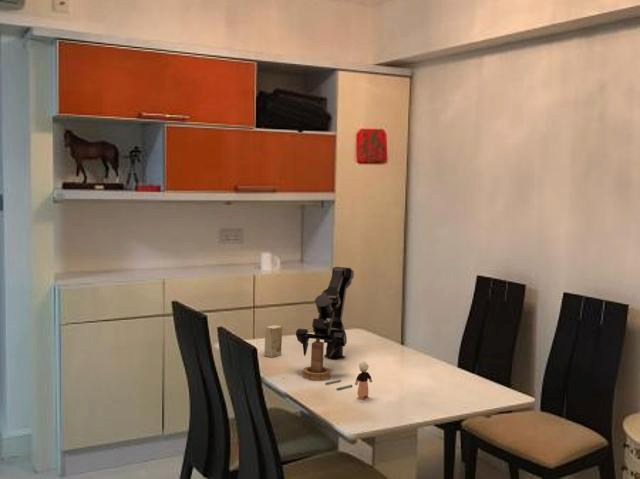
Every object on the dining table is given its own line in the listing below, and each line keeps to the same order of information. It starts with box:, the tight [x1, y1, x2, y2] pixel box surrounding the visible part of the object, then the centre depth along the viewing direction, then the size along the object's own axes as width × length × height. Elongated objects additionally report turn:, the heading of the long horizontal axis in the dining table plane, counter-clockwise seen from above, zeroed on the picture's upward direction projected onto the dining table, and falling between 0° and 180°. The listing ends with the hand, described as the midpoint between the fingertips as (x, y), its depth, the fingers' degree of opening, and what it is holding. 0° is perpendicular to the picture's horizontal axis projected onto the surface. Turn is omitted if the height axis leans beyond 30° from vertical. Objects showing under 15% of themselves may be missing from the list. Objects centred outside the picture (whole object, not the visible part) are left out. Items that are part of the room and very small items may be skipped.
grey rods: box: [325, 379, 353, 391], centre depth 252 cm, size 8×8×1 cm
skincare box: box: [263, 324, 283, 358], centre depth 289 cm, size 6×4×12 cm
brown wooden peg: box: [310, 338, 325, 373], centre depth 262 cm, size 4×4×15 cm
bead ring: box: [302, 366, 331, 382], centre depth 262 cm, size 10×10×2 cm
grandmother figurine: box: [354, 361, 373, 401], centre depth 238 cm, size 8×4×13 cm, turn 141°
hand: (316, 356), depth 260 cm, fingers open, 9 cm apart
